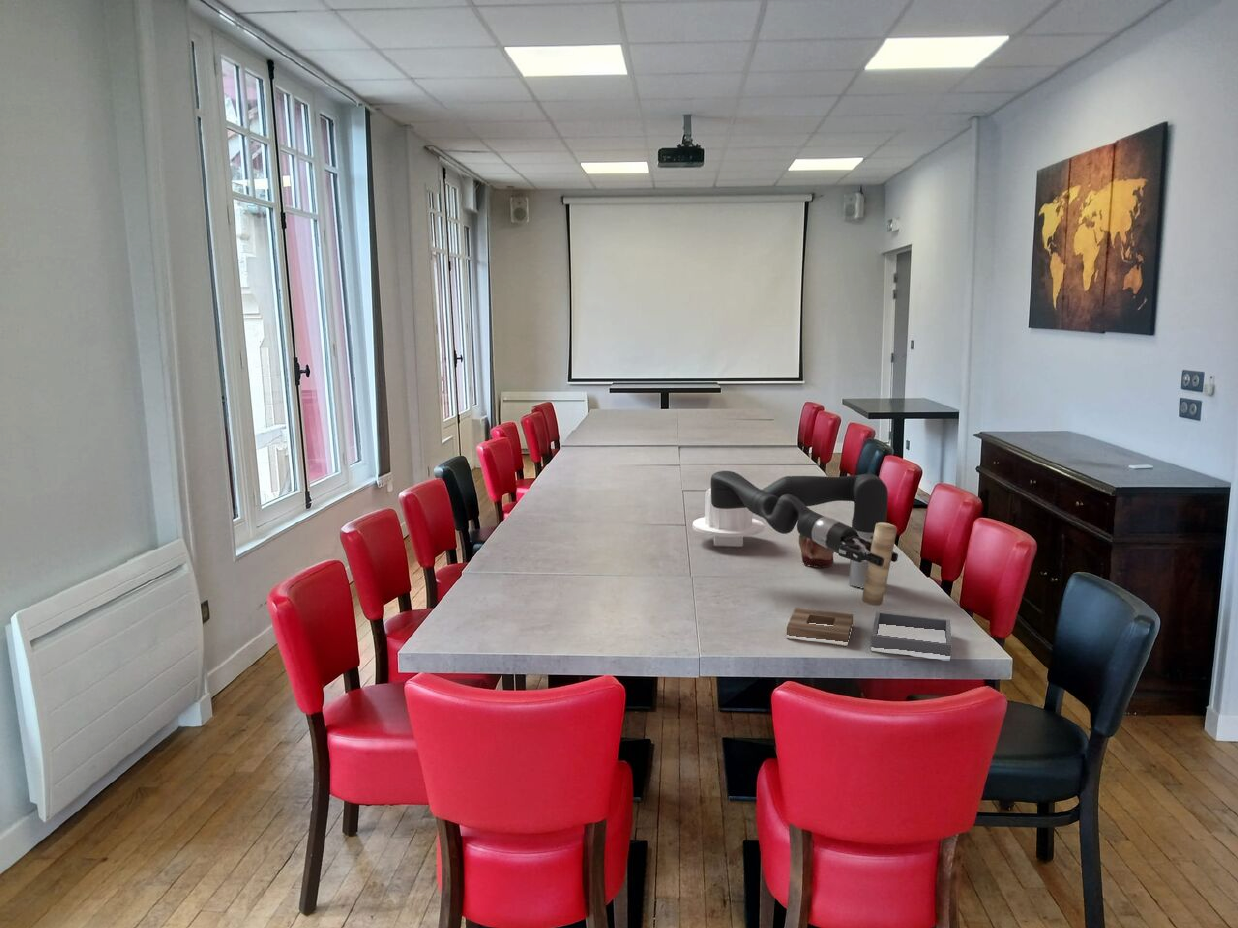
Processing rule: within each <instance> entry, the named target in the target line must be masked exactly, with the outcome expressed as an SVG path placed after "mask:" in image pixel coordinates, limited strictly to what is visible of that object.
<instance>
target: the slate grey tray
mask: <svg viewBox="0 0 1238 928" xmlns="http://www.w3.org/2000/svg"><path fill="white" fill-rule="evenodd" d="M879 624H886V625H896V626H905V627H914V628H924V629H935V630H944V631H945V638H946V643H939V642H931V641H923V640H915V639H907V638H898V637H890V636H882V635H877V634H878V629H879ZM872 626H873V627H872V632H871V641H870V642H871V643H870V648H871V647H874V648H884V649H899V650H907V651H915V652H922V653H933V654H940V655H945V656H951V657H952V633H951V631H952V630H951V629H952V627H951V619H949V618H940V617H930V616H923V615H921V616H920V615H913V614H912V615H911V614H903V613H897V612H896V613H895V612H894V613H893V612H886V611H877V610H876V611H875V615H874V621H873V625H872Z"/></svg>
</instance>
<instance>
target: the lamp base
mask: <svg viewBox="0 0 1238 928" xmlns="http://www.w3.org/2000/svg"><path fill="white" fill-rule="evenodd" d="M704 494H705V495H704V496H705V497H704V498H705V499H704V500H705V501H704V503H705V504H704V516H703V517H701V518H700V517H699V518H697V519H694V520H693V522H692V529H693V530H694V531H696V532H698V533H700V534H704V535H709V536H713V539H712V540H713V546H714V547H733V548H734V547H735V548H743V546H744V537H750V536H755V535H759V534H761V533H763V532H764V530H765V524H764V522H762V521H760V520H758V519H755V518H753V513H752V512H751V511H749V510H748V509H747V508H736V509H719V508H715V507H714V506H712V504H711V487H709V488H708V489H707V490H706V491H705V493H704Z"/></svg>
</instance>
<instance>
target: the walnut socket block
mask: <svg viewBox="0 0 1238 928" xmlns="http://www.w3.org/2000/svg"><path fill="white" fill-rule="evenodd" d="M854 617H855V615H854V613H845V612H836V611H828V610H821V609H820V610H819V609H810V608H803V607H795V609H794V611H792V614H791V617H790V618H789V621H788V624H787V626H786V635H789V636H796V637H806V638H816V639H826V640H835V641H843V642H848V640H849V641H850V639H849V636H850V637H851V635H850V632H851V628H852V625H853V626H854ZM809 623H816V624H827V625H833V626H824V625H816V624H809ZM852 629H853V628H852ZM851 633H852V632H851Z"/></svg>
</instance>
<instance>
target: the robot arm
mask: <svg viewBox="0 0 1238 928" xmlns="http://www.w3.org/2000/svg"><path fill="white" fill-rule="evenodd" d="M710 488H711V504H712V506H714V507H715V508H719V509H736V508H747V509H748V510H749V511H751V512H752V514H753V515H756V516H759V517H761V518H762V519H764V521H766V522H767V524H768V525H769V526H770V527H771V528H772V529H773V530H774V531H776V532H777V533H779V534H782V535H784V534H789V533H791V532H793V530H794V529H795V526H796V529H797V533H798V534H799V535H802V536H804V537H806V538H808V539H810V540H812V541H815V542H816V543H818V544H819V545H821V546H823V547H825V548H827V549H829V550H832V551H834V553H836V554H838V556H840V557H842V558H845V559H849V560H850V563H849V564H850V565H849V579H848V580H849V581H848V583H849V582H850V584H852V585H854V586H857V587H862V588H864V584H865V579H866V574H867V568H868V563H869V562H871V563H873V564H875V565H877V566H880V567H881V566H883V564H884V558H883V557H881V556H878V555H876V554H874V553H870V552H871V547H872V542H873V536H874V531H875V526H876V523H881V522H882V523H887V522H886V521H887V511H888V497H889V494H888V493H889V492H888V491H889V490H888V488H887V485H886V484H885V483H884V481H883V480H882V479H881V477H880V476H877V475H876V474H872V473H864V474H863V473H861V474H853V475H848V476H847V475H845V476H820V475H787V476H783V477H781V478H779V479H777V480H775V481H773V482H772V483H771V484H769V485H768V486H766V487H764V488H763V489H761V488H758V487H757V486H755V485H754V484H752V483H751V482H750V481H749V480H748V479H746V478H745V477H743V476H742V475H741V474H739V473H738V472H735V471H731V470H720V471H716V472H714V473H713V474H712V475H711V477H710ZM841 501H842V502H854V504H853V505H854V506H853V517H852V521H851V526H850V525H848V524H845V523H843V522H841V521H838V520H836V519H834V518H831V517H826V516H824V515H822V514H820V513H817V512H815V511H814V510H812V509H811V508H809V507H813V506H814V507H815V506H817V505H823V504H826V503H831V502H841ZM898 557H899V554H898V553H897V552H895V551H893V552H892V557H891V562H893V563H896V562H897V561H898ZM850 584H849V585H850ZM852 585H851V586H852ZM854 586H853V587H854ZM857 587H856V588H857ZM862 588H861V589H862Z"/></svg>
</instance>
